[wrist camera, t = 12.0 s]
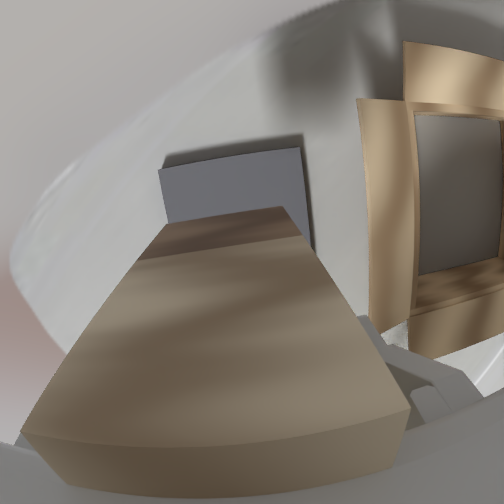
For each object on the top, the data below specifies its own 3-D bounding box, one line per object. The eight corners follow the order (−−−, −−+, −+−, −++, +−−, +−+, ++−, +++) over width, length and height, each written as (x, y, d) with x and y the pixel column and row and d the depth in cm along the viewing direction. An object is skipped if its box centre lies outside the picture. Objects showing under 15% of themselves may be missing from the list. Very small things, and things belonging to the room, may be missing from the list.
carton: (518, 83, 20) (561, 81, 13) (515, 285, 27) (549, 310, 21) (318, 61, 20) (346, 35, 14) (342, 333, 27) (365, 379, 21)
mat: (297, 146, 22) (299, 147, 21) (310, 274, 25) (313, 279, 24) (161, 168, 22) (157, 170, 21) (187, 292, 25) (186, 298, 24)
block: (282, 205, 12) (411, 407, 3) (296, 337, 14) (354, 550, 5) (166, 224, 12) (19, 431, 3) (198, 350, 14) (172, 564, 5)
